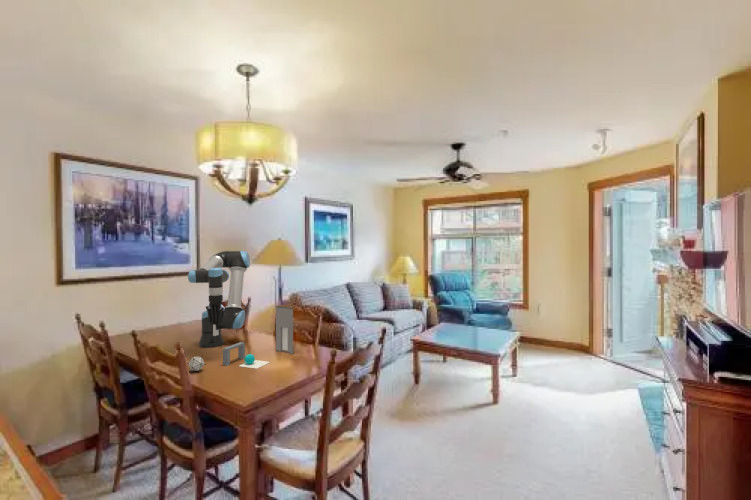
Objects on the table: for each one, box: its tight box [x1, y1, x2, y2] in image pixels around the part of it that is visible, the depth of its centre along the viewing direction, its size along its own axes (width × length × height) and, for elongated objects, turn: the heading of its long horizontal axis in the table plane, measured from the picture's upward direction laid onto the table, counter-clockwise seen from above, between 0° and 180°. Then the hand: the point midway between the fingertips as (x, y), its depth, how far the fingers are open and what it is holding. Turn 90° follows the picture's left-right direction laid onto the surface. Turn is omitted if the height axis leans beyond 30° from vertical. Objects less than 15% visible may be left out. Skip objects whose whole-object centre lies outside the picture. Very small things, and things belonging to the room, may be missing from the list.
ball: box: [243, 353, 256, 364], centre depth 213 cm, size 6×6×6 cm
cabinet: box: [275, 302, 294, 355], centre depth 241 cm, size 21×10×28 cm, turn 17°
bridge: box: [222, 341, 246, 367], centre depth 218 cm, size 3×14×9 cm, turn 160°
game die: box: [186, 355, 207, 373], centre depth 201 cm, size 9×8×10 cm
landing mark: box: [238, 359, 271, 370], centre depth 213 cm, size 12×12×1 cm
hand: (215, 335), depth 222 cm, fingers closed
